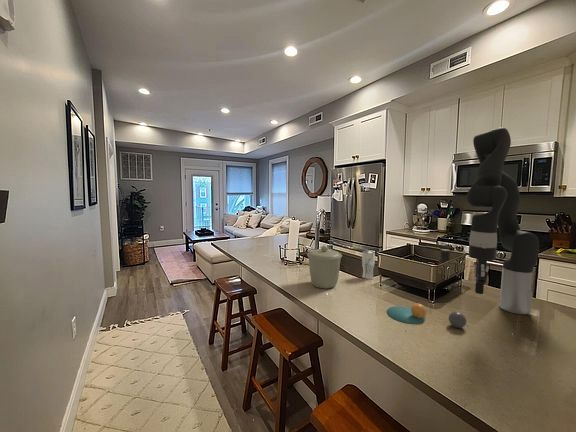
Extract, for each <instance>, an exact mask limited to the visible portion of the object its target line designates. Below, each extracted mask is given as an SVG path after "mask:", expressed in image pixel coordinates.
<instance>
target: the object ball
mask: <svg viewBox="0 0 576 432" xmlns="http://www.w3.org/2000/svg"><path fill="white" fill-rule="evenodd" d="M410 308H411V313H412V315H413V316H414V317H416V318H423V317H425V318H426V315H427V309H426V307H425V306H424V305H423V304H421V303H414V304H412V305H411V307H410Z"/></svg>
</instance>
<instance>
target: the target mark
mask: <svg viewBox="0 0 576 432" xmlns="http://www.w3.org/2000/svg"><path fill="white" fill-rule="evenodd" d="M386 314H387V316H389V317H390V318H392V319H393V320H395V321H397V322H399V323H400V322H401V323H404V324H414V325H417V324H422V323H424V322H425V320H426V316H425V317H423V318H416V317H414V316H413V315H412V313H411V307H407V306H402V305H400V306H398V305H397V306H396V305H394V306H391V307H389V308H387V309H386Z"/></svg>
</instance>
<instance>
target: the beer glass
mask: <svg viewBox="0 0 576 432" xmlns="http://www.w3.org/2000/svg"><path fill="white" fill-rule="evenodd" d="M361 254H362V255H361V265H362V271H363V272H362V275H361V278H362V279H364V280H373V279H374V268H375V262H376V255H375V254H376V253H375V251H373V250H362V253H361Z"/></svg>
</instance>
